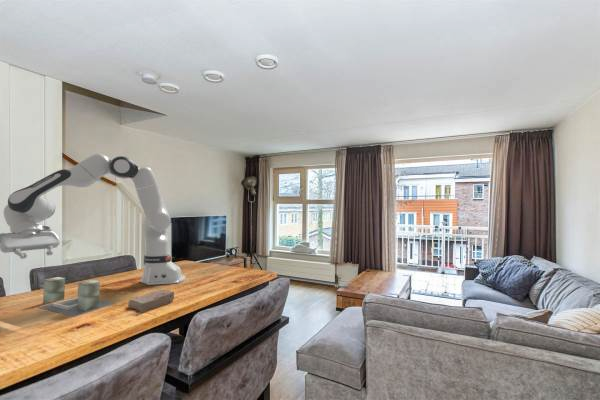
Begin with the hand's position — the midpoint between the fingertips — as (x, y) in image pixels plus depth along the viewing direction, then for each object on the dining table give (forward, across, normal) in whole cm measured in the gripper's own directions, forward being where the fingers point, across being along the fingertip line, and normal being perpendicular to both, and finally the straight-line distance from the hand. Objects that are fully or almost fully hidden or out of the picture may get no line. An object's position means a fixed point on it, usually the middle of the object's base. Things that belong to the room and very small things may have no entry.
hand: (37, 256), depth 124 cm
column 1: (+22, 0, +4) cm, 22 cm away
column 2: (+37, 0, -12) cm, 39 cm away
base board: (+33, 0, -7) cm, 34 cm away
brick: (+50, +15, -23) cm, 57 cm away
